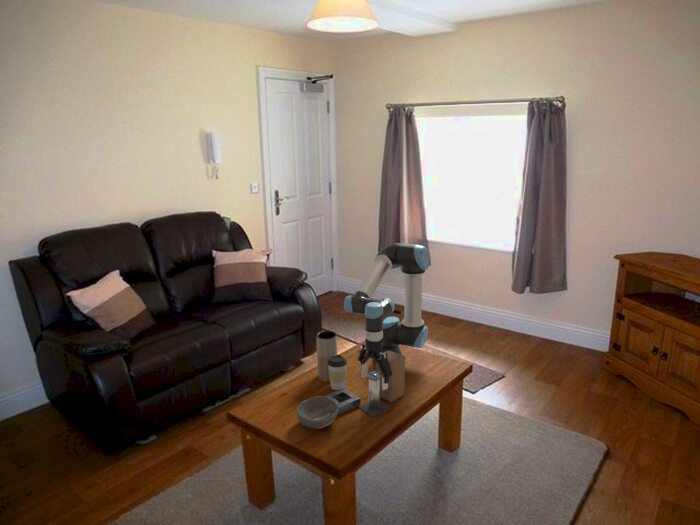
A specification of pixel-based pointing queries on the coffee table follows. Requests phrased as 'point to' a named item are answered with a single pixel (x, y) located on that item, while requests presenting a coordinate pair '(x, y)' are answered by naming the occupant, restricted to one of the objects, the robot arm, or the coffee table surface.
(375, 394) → the silver domed cylinder
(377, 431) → the coffee table surface
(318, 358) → the planter
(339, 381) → the coffee cup
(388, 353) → the wooden block
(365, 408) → the mat
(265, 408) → the coffee table surface
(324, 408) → the bowl
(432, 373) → the coffee table surface
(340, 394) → the frame
